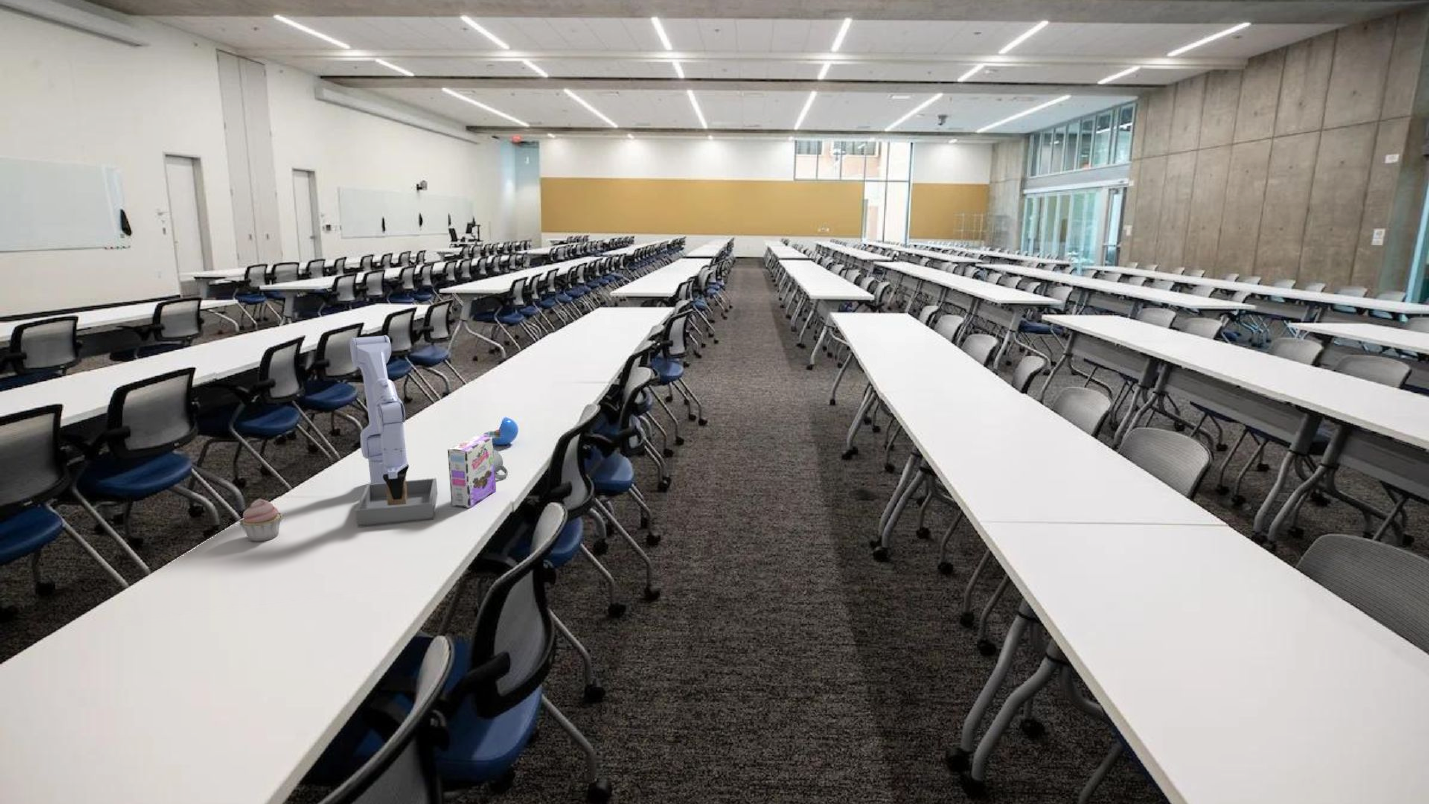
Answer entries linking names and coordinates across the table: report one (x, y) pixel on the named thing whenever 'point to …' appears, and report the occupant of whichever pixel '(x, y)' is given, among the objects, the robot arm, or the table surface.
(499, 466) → the ceramic mug
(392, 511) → the grey bin
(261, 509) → the cupcake
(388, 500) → the walnut block
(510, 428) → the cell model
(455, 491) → the candy box
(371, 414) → the robot arm
